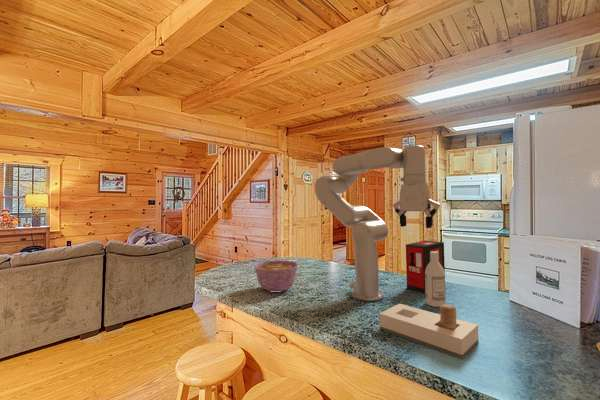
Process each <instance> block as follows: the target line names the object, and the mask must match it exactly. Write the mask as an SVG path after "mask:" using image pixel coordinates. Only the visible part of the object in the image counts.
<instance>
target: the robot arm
mask: <svg viewBox="0 0 600 400" xmlns="http://www.w3.org/2000/svg"><path fill="white" fill-rule="evenodd" d="M381 168H385V169H387V168H389V169H398V170H399V169H402V171H403V172H402V173H403V175H402V177H401V178H400V179H399V180H400V182H402V183H403V184H401V185H400V191H399V200H398V201H396V202H394V203H393V205H392V206H393V208H394V211H395V212H396V214H397V215H398V216H399V225H400V226H399V227H406V226H407V215H406V214H407V212H424V214H425V215H426V216H425V228H426V229H430V228H431V229H433V225H434V223H433V222H434V221H433V220H434V219H433V217H434V216H435V214H437V213H438V211H439V209H440V207H441V203H439V202H437V201H435V200H433V199H431V193H430V188H429V184H428V183H427V182H426V180H427V179H426V178H427V177H426V175H427V174H426V173H427V172H426V150H425V146H423V145H421V144H419V145H417V144H415V145H408V146H405V147H404V148H403V149H401V148H395V147H391V146H389V147H388V146H386V147H385V146H382V147H377V148H372V149H368V150H365V151H363V152H360V153H355V154H349V155H344V156H340V157H339V156H338V157H337V158H335V160H334V161H333V163H332V170H333V172H334V173H335V174H336V175H323V176H320V177H318V178H317V179H316V181H315V182H314V193H315V196H316V198H317V200H318V201H319V202H320V203H321V204H322V205H323V206H324V207H325V208H326V209H327V210H328V211H329V212H330V213H331V214H332V215H333V216H334V217H335V218H336V219H337V220H338V221H339V222H340V223H341V224H342V225H343V226H344V227H347V228H352V230H351V238H352V242H353V247H354V248H353V249H354V267H355V268H354V269H355V270H354V271H355V272H354V273H355V274H354V276H355V282H353V281H352V282H350V284H349V285H348V287H349V288H350V289H353V290H352V293H351V296H352V297H353V298H354V299H356V300H359V301H363V300H364V302H373V301H374V302H375V301H379V300H381V299H383V298H384V294H383V292H381V291H380V284H379V281H380V279H379V275H380V274H379V254H378V253H379V252H378V249H377V246H376V243H377V242H382V241H384V240H385V239H386V238H387V237H388V235H389V228H388V225H387V224H386V222H385V221H384V220H383V219H382V218H381V217H379V216H378V215H377V214H376V213H375V212H373V211H372V210H371V208H369V207H367V206H364V205H362V204H361V205H359V204H357V205H354V204H350V203H349V202H348V201H347V200H345V199H344V197H342V196H340V194H345V192H347V191H348V190H349V189H350V187H351V186H352V185H353V184H354V183H355V182H356V180H357V178H358V177H359V176H360V174H367V173H368V172H369V171H370V170H372V169H381ZM432 206H433V208H432ZM431 208H432V209H431Z"/></svg>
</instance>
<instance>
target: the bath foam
mask: <svg viewBox="0 0 600 400" xmlns="http://www.w3.org/2000/svg"><path fill="white" fill-rule="evenodd" d="M424 297H425V304H426V305H427V306H430V307H433V308H434V307H435V308H440V306H441V305H447V304H446V300H447V299H446V298H447V297H446V272H444V269H443V267H442V266H441V264H440V263H439V255H438V252H434V251H433V252H430V262H429V264H428V265H427V267H426V270H425V296H424Z"/></svg>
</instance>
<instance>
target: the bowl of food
mask: <svg viewBox="0 0 600 400" xmlns="http://www.w3.org/2000/svg"><path fill="white" fill-rule="evenodd" d="M298 265H299V263H297V262H295V261H291V260H269V261H262V262H259V263H256V264H255V265H254V270H255V273H256V277H257V280H258V284H259V285H260V287H261V288H262V289H264V290H266V291H268V292H269V291H283V290H285V291H286V290H288V289H290V288H291V287H292V286H293V285H294V283H295V280H296V277H297V271H298Z"/></svg>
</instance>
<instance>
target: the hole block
mask: <svg viewBox="0 0 600 400" xmlns="http://www.w3.org/2000/svg"><path fill="white" fill-rule="evenodd" d="M379 329H380V330H381V329H382V330H381V331H383V330H384V332H386V331H387V332H386V333H389V334H392V335H395V336H398V337H400V338H403V339H406V340H409V341H410V342H411V341H412V342H414V343H417V344H419V345H422V346H425V347H427V348H430V349H434V350H435V351H436V350H437V351H438V352H442V353H444V354H446V355H447V354H448V355H450V356H453V357H456V358H459V359H461V360H464V358H465V357H466V356H467V355H468V354H469V353H470V352H471V351H472V350H473V349H474V348H475V347H476V346H477V345H478V344H479V324H477V323H473V322H469V321H465V320H462V319H458V318H456V329H455V330H453V331H452V330H449V329H445V328H442V327H440V313H435V312H431V311H429V310H425V309H420V308H417V307H414V306H413V307H412V306H411V305H407V304H402V303H398V304H396V305H394V306H392V307H390V308H388V309H386V310H384V311H382V312H380V313H379Z"/></svg>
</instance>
